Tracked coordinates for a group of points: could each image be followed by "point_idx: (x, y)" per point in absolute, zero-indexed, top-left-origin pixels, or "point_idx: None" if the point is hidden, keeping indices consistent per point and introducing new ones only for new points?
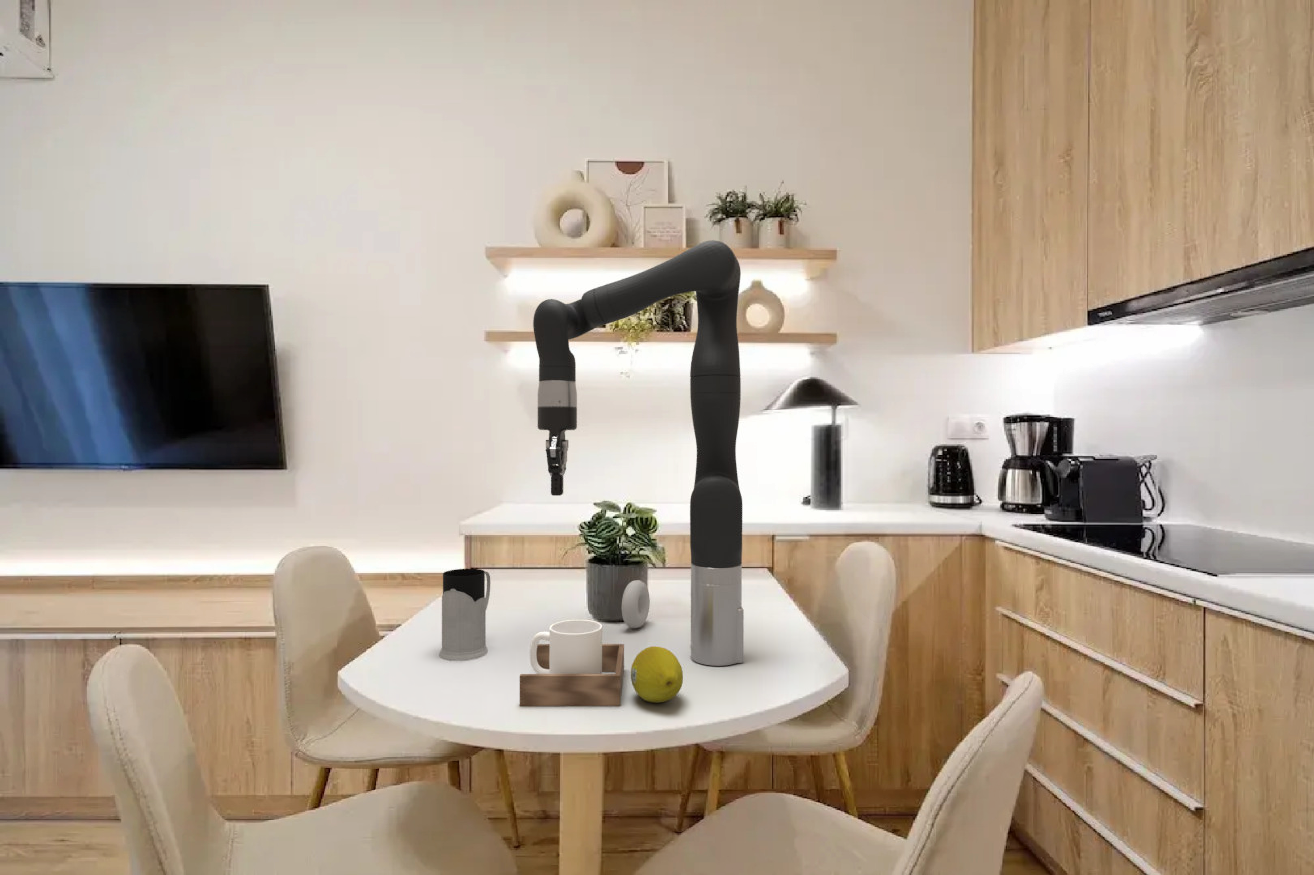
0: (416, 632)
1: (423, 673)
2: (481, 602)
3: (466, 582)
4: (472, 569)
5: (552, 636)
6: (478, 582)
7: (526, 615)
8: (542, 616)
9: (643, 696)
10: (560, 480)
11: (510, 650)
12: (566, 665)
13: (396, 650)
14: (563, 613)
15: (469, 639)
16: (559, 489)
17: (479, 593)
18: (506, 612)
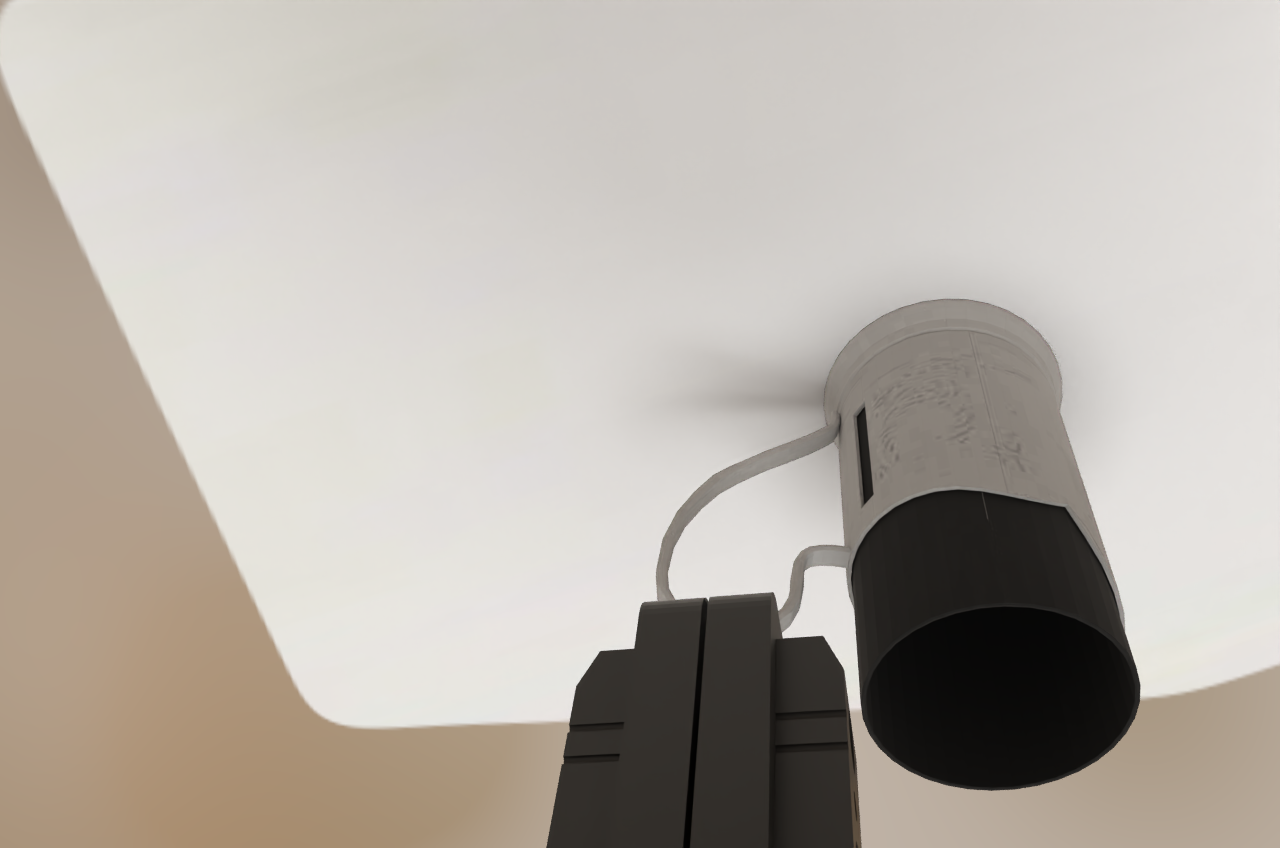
0: None
1: (1241, 455)
2: (1021, 479)
3: (1121, 628)
4: (865, 690)
5: None
6: (1063, 576)
7: (223, 326)
8: (207, 237)
9: None
10: (774, 816)
11: (882, 203)
12: None
13: None
14: (93, 134)
15: (1050, 401)
16: (845, 682)
17: (1038, 524)
18: (211, 439)
